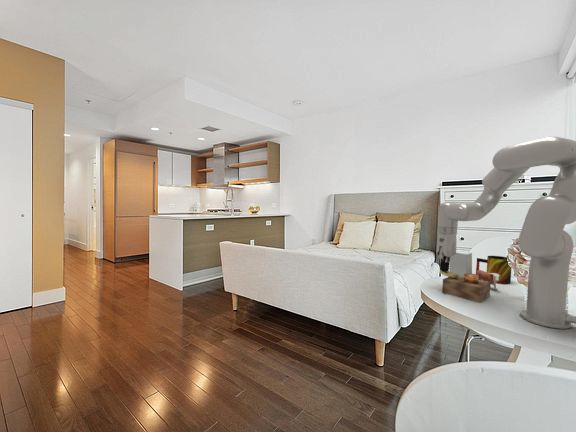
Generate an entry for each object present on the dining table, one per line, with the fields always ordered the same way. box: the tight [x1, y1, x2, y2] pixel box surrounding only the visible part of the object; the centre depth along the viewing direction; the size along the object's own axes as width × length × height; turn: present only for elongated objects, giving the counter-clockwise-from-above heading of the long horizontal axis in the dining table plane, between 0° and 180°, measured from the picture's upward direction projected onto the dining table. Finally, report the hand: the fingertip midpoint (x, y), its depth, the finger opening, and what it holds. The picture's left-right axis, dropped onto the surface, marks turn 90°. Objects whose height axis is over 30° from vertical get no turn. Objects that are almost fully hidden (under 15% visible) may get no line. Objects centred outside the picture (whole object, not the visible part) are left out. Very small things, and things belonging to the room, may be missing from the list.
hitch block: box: [441, 276, 491, 304], centre depth 116 cm, size 14×12×6 cm
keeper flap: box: [439, 270, 458, 279], centre depth 121 cm, size 6×4×1 cm
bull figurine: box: [475, 269, 502, 291], centre depth 125 cm, size 4×13×8 cm, turn 2°
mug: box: [475, 255, 512, 285], centre depth 136 cm, size 10×14×12 cm
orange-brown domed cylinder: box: [464, 272, 479, 284], centre depth 115 cm, size 5×5×8 cm
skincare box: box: [449, 250, 473, 277], centre depth 135 cm, size 8×6×15 cm
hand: (444, 270), depth 123 cm, fingers closed
